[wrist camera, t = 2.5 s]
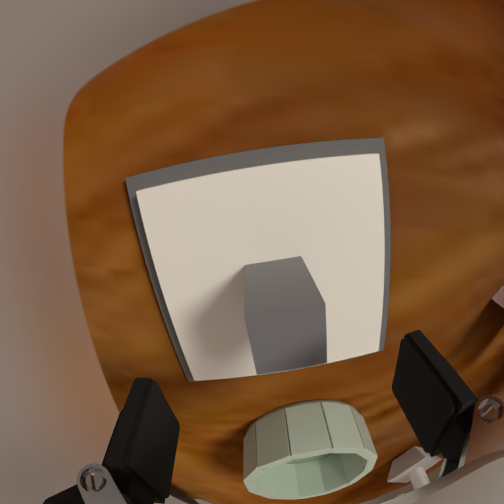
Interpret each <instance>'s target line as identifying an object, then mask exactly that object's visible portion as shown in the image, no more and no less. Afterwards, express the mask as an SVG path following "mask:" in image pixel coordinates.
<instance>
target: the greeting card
mask: <svg viewBox="0 0 504 504" xmlns="http://www.w3.org/2000/svg"><path fill="white" fill-rule="evenodd" d="M491 299H492V300H494V301H495V302H496V303H497V304H499V305H500V306H501V307H503V308H504V285H503V286H502V287H501V289H500V290H499V291H498V292H497V293H496V294H495V295H494V296H493V297H492V298H491Z"/></svg>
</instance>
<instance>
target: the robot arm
mask: <svg viewBox="0 0 504 504" xmlns="http://www.w3.org/2000/svg"><path fill="white" fill-rule="evenodd" d="M392 391H393V393H394V395H395V397H396V399H397V401H398V402H399V404H400V406H401V408H402V410H403V412H404V413H405V415H406V417H407V419H408V421H409V423H410V425H411V427H412V428H413V430H414V432H415V434H416V436H417V438H418V440H419V442H420V444H421V446H422V448H423V450H424V451H425V452H426V453H429V454H430V456H431V457H433V456H435V455H437V454H439V453H442V455H443V457H444V461H443V464H442V467H441V471H440V474H439V477H438V479H437V480H435V481H433V482H431V483H429V484H427V485H425V486H422V487H420V488H418V489H416V490H413V491H411V492H409V493H407V494H404V495H402V496H399V497H397V498H394V499H392V500H389V501H386V502H383V503H381V504H504V401H503V400H502V399H501V398H499V397H497V396H493V395H487V396H484V397H482V398H481V399H479V400H478V399H477V398H476V397H475V395H474V394H473V393H472V391H471V390H470V389H469V388H468V386H467V385H466V384H465V382H464V381H463V380H462V379H461V377H460V376H459V375H458V374H457V372H456V371H455V370H454V369H453V368H452V366H451V365H450V364H449V363H448V361H447V360H446V359H445V358H444V357H443V356H442V355H441V354H440V353H439V352H438V351H437V349H436V348H435V347H434V346H433V345H432V343H431V342H430V341H429V340H428V339H427V338H426V337H425V335H424V334H423V333H422V332H421V331H420V330H417V331H414V332H411V333H408V334H405V336H404V339H402V340H401V343H400V349H399V355H398V360H397V365H396V370H395V375H394V379H393V383H392ZM179 430H180V426H179V422H178V420H177V419H176V417H175V415H174V413H173V412H172V410H171V408H170V406H169V404H168V403H167V401H166V399H165V397H164V395H163V393H162V391H161V390H160V388H159V386H158V384H157V382H156V381H153V380H152V379H151V378H136V379H135V380H134V382H133V385H132V387H131V390H130V393H129V395H128V398H127V400H126V403H125V406H124V408H123V410H122V411H121V412H120V414H119V417H118V420H117V422H116V426H115V428H114V431H113V434H112V436H111V439H110V442H109V445H108V448H107V451H106V453H105V457H104V460H103V462H102V465H99V464H90V465H87V466H85V467H84V468H82V469H81V470H80V472H79V473H78V476H77V484H76V485H74V486H73V487H71V488H68V489H66V490H64V491H62V492H60V493H58V494H56V495H54V496H52V497H49V498H48V499H46V500H45V501H44V503H43V504H154V503H163V504H164V503H165V498H168V497H169V494H170V487H171V480H172V474H173V467H174V461H175V454H176V448H177V442H178V436H179Z"/></svg>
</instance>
